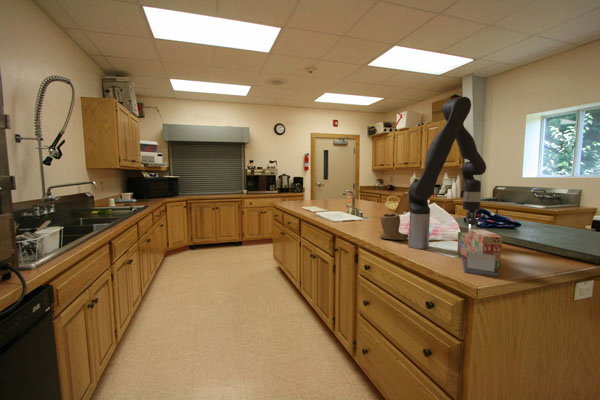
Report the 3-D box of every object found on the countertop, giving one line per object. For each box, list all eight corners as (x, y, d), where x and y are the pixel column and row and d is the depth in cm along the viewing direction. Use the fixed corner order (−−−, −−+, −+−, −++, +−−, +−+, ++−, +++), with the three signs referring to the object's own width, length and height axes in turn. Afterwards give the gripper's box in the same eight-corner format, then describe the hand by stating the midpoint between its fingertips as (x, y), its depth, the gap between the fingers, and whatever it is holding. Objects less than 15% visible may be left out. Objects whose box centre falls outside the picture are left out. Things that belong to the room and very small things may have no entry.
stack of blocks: (456, 251, 118) (458, 225, 117) (471, 252, 117) (473, 225, 116) (481, 268, 97) (483, 235, 96) (500, 268, 96) (502, 236, 95)
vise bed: (464, 272, 96) (465, 252, 96) (459, 249, 127) (460, 234, 127) (497, 277, 92) (499, 256, 91) (484, 251, 123) (485, 236, 122)
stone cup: (376, 240, 146) (377, 213, 145) (381, 236, 156) (382, 211, 155) (405, 243, 138) (406, 215, 137) (408, 239, 149) (409, 213, 147)
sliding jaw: (463, 250, 118) (464, 221, 117) (461, 243, 131) (462, 216, 130) (484, 253, 114) (486, 222, 113) (480, 245, 127) (482, 217, 126)
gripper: (482, 202, 125) (480, 237, 127) (479, 199, 136) (477, 231, 138) (463, 201, 129) (462, 235, 130) (462, 199, 140) (460, 230, 142)
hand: (469, 233), depth 134 cm, fingers closed
